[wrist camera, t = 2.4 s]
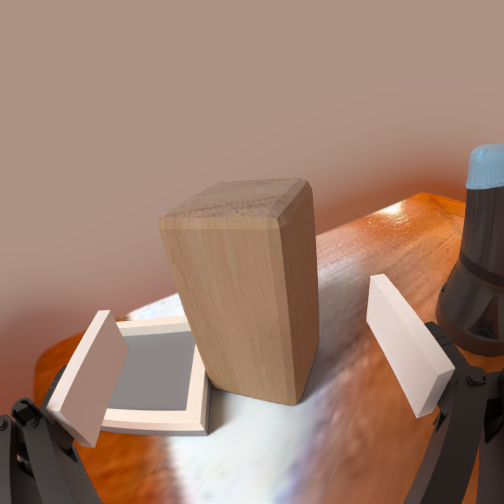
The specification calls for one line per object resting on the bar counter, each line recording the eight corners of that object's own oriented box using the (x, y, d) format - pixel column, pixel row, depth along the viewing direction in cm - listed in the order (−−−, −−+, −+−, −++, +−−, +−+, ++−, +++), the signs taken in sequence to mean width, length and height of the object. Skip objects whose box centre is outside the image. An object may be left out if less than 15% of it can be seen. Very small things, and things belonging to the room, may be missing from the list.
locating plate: (215, 327, 39) (211, 312, 38) (207, 435, 24) (200, 422, 23) (109, 336, 40) (102, 323, 39) (71, 425, 24) (59, 412, 23)
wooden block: (245, 333, 38) (214, 180, 29) (320, 343, 34) (313, 175, 25) (209, 390, 29) (150, 216, 21) (298, 411, 25) (280, 214, 17)
